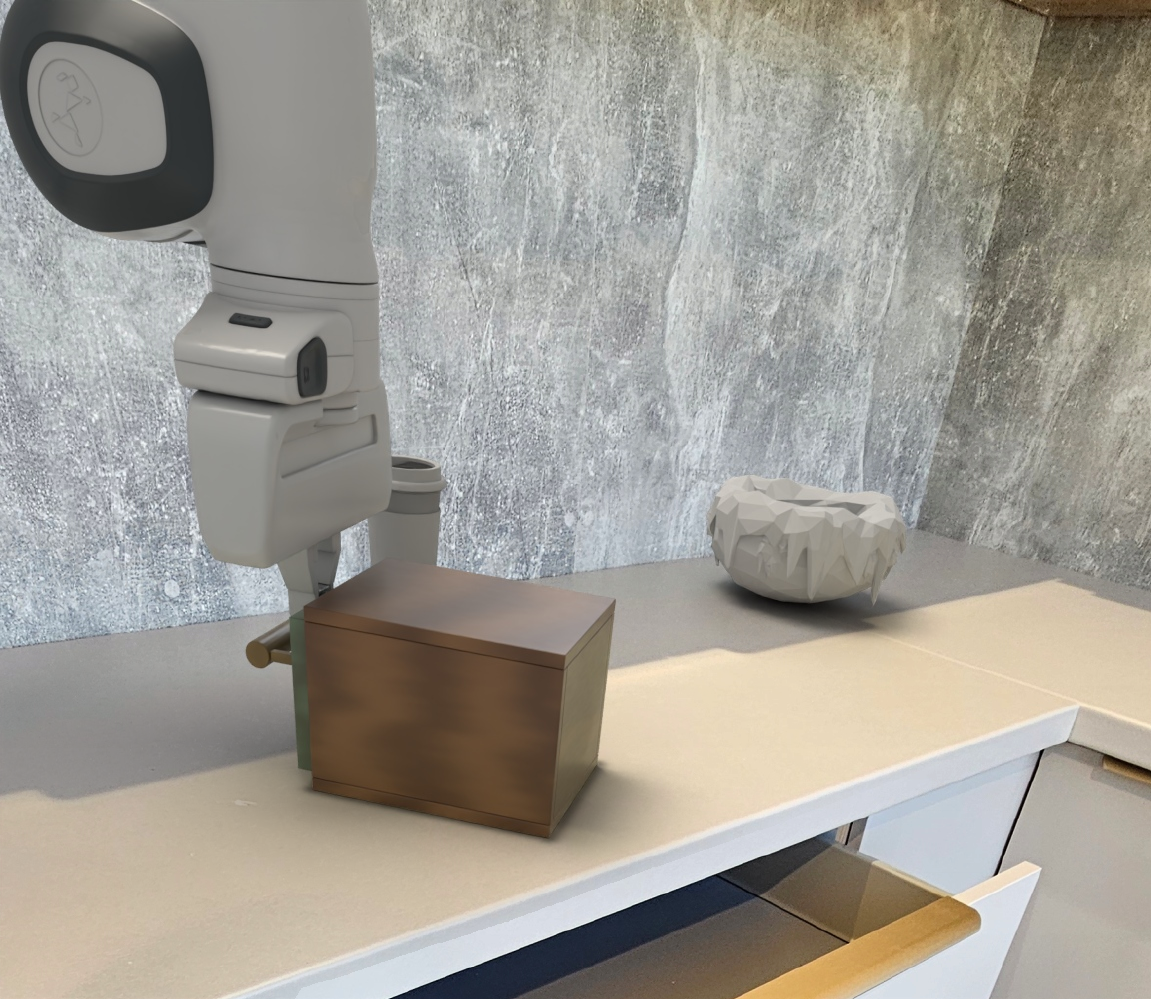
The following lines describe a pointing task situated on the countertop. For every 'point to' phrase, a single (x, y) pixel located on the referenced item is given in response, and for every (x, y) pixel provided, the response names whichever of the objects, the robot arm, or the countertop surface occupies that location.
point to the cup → (409, 513)
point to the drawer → (278, 649)
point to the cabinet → (457, 693)
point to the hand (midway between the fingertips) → (312, 617)
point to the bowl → (804, 538)
